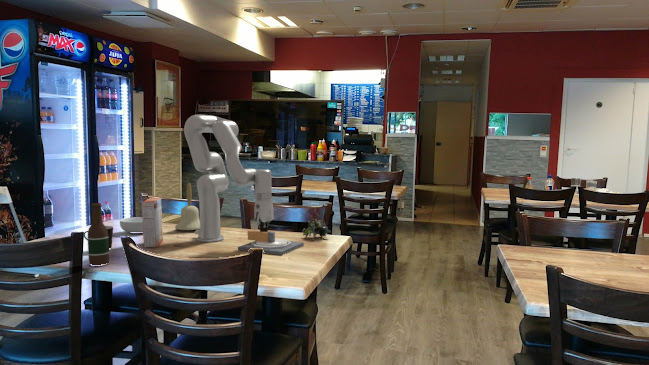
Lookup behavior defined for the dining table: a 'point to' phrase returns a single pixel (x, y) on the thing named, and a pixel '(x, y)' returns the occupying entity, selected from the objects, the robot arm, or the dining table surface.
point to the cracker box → (152, 222)
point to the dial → (265, 238)
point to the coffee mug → (110, 234)
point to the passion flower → (316, 228)
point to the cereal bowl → (132, 224)
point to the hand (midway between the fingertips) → (263, 235)
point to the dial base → (273, 247)
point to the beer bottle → (98, 238)
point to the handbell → (189, 214)
